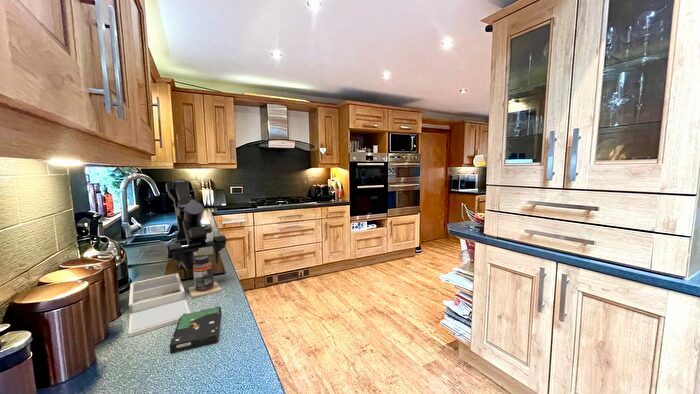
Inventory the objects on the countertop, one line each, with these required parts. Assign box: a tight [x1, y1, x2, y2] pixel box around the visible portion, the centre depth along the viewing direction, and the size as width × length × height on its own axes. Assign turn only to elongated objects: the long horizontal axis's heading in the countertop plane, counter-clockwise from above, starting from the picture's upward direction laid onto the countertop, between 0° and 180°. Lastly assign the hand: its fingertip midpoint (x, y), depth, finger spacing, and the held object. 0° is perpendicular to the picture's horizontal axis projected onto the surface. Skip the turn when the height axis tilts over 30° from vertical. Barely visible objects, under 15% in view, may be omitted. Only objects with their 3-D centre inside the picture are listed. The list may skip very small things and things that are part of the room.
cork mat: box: [187, 280, 223, 299], centre depth 97 cm, size 9×9×1 cm
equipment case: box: [127, 272, 191, 338], centre depth 87 cm, size 32×14×4 cm, turn 37°
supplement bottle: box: [192, 254, 215, 291], centre depth 96 cm, size 6×6×11 cm
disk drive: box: [169, 306, 222, 354], centre depth 72 cm, size 10×3×15 cm
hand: (202, 266), depth 96 cm, fingers open, 9 cm apart
